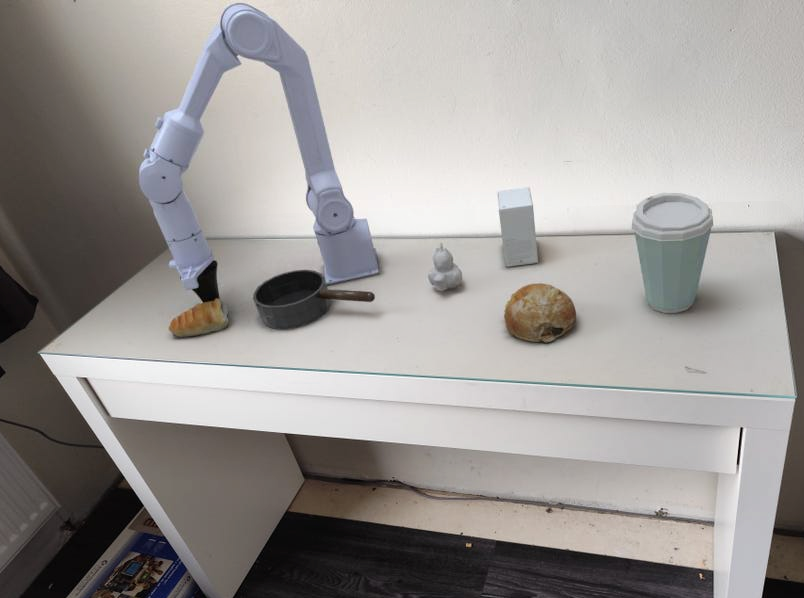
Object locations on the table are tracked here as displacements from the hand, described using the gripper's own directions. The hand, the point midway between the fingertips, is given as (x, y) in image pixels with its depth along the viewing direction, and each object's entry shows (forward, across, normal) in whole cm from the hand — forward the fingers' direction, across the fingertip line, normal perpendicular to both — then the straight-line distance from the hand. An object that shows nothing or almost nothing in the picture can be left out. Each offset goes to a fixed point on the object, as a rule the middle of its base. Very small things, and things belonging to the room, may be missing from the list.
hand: (214, 306), depth 114 cm
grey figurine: (+1, +10, +39) cm, 40 cm away
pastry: (+1, +4, -1) cm, 5 cm away
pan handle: (-2, +11, +23) cm, 25 cm away
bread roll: (+1, +26, +50) cm, 56 cm away
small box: (+1, +4, +53) cm, 53 cm away
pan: (+1, +6, +14) cm, 15 cm away
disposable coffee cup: (+1, +28, +69) cm, 74 cm away
